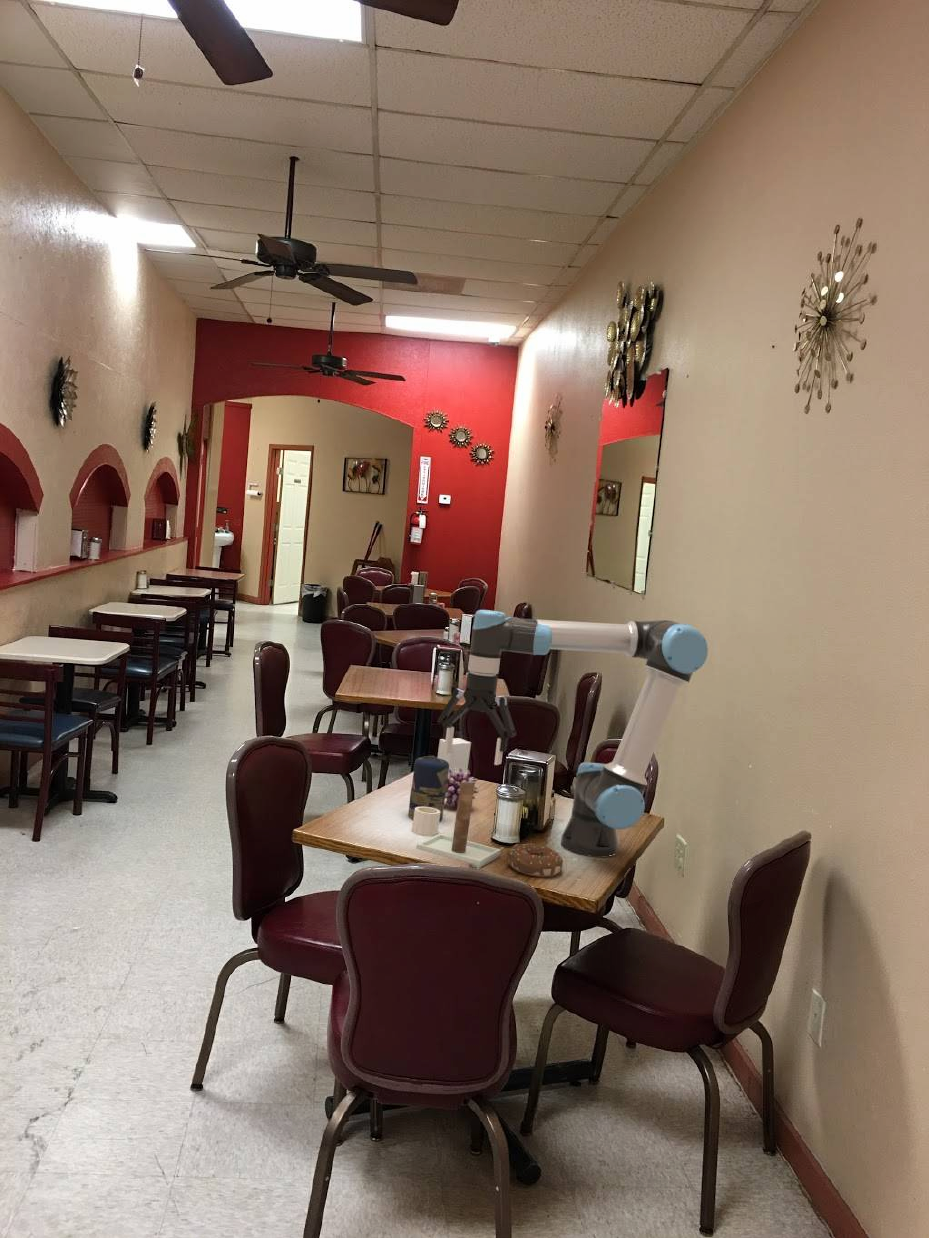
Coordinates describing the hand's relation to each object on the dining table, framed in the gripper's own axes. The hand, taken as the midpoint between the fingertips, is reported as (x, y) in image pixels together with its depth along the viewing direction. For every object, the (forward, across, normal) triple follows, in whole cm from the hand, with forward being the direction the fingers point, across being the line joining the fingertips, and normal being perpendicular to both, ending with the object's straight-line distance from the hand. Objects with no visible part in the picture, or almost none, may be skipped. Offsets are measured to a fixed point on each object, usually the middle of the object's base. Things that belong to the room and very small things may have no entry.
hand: (472, 758), depth 249 cm
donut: (+25, -18, -3) cm, 31 cm away
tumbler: (+24, +14, -8) cm, 29 cm away
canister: (+24, +20, -20) cm, 37 cm away
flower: (+24, +20, -40) cm, 51 cm away
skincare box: (+24, +31, -59) cm, 71 cm away
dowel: (+23, 0, 0) cm, 23 cm away
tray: (+24, 0, 0) cm, 24 cm away
